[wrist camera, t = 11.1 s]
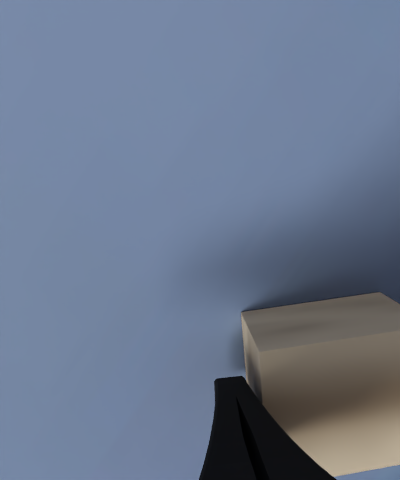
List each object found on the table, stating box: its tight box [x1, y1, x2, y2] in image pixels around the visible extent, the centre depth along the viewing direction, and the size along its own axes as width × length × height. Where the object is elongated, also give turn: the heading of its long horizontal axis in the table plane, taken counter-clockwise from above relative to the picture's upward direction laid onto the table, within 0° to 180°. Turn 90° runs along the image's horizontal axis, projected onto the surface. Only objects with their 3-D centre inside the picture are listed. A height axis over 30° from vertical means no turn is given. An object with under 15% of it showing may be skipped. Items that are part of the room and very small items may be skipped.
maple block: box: [241, 292, 400, 477], centre depth 13 cm, size 7×7×3 cm
